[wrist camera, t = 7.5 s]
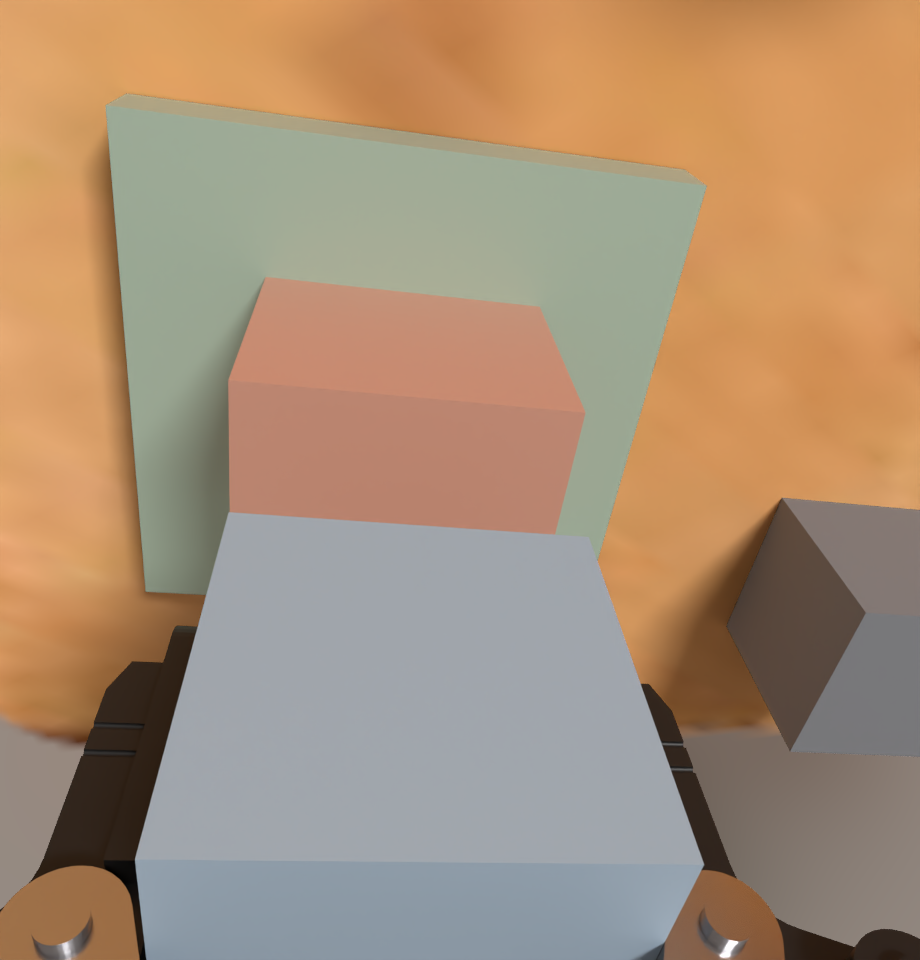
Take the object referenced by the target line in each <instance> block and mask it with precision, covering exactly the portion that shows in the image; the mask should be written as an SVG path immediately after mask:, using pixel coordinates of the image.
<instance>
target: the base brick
mask: <svg viewBox="0 0 920 960" xmlns="http://www.w3.org/2000/svg"><path fill="white" fill-rule="evenodd" d="M228 402H229V496H230V512H234V513H248V514H263V515H277V516H292V517H306V518H321V519H335V520H350V521H365V522H379V523H394V524H408V525H423V526H437V527H452V528H466V529H481V530H496V531H510V532H525V533H539V534H554V535H555V533H556V529H557V525H558V521H559V517H560V513H561V509H562V505H563V501H564V497H565V493H566V489H567V485H568V481H569V477H570V473H571V469H572V465H573V461H574V457H575V453H576V449H577V445H578V441H579V437H580V433H581V429H582V425H583V421H584V417H585V413H586V412H585V410H584V408H583V405H582V403H581V401H580V398H579V396H578V394H577V392H576V389H575V387H574V385H573V382H572V380H571V378H570V375H569V373H568V371H567V368H566V366H565V364H564V362H563V359H562V357H561V355H560V352H559V350H558V348H557V345H556V343H555V341H554V339H553V336H552V334H551V332H550V329H549V327H548V325H547V322H546V320H545V318H544V315H543V313H542V311H541V309H540V307H538V306H529V305H520V304H510V303H501V302H492V301H483V300H474V299H464V298H455V297H446V296H437V295H428V294H419V293H409V292H400V291H391V290H382V289H373V288H363V287H354V286H345V285H336V284H327V283H318V282H308V281H299V280H290V279H281V278H272V277H265V280H264V283H263V285H262V288H261V291H260V294H259V297H258V299H257V302H256V305H255V308H254V310H253V313H252V316H251V319H250V321H249V324H248V327H247V330H246V333H245V335H244V338H243V341H242V344H241V346H240V349H239V352H238V355H237V357H236V360H235V363H234V366H233V368H232V371H231V374H230V377H229V380H228Z"/></svg>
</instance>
